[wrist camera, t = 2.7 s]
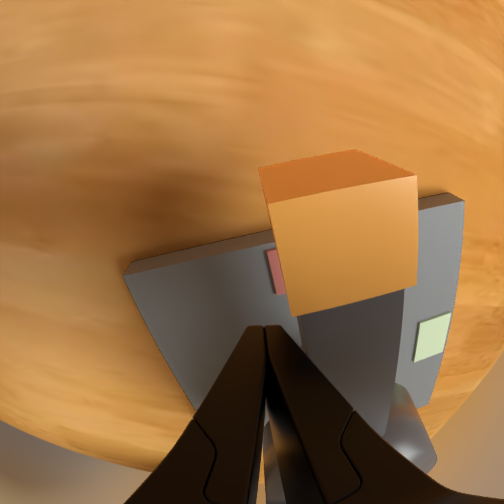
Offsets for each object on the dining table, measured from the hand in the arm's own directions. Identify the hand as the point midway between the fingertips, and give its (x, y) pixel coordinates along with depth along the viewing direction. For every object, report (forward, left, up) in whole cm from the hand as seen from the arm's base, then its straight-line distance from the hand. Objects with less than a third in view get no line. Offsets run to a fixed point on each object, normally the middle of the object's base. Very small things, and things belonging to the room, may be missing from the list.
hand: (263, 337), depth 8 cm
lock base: (-9, -2, -8) cm, 13 cm away
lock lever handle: (-5, -2, -2) cm, 6 cm away
